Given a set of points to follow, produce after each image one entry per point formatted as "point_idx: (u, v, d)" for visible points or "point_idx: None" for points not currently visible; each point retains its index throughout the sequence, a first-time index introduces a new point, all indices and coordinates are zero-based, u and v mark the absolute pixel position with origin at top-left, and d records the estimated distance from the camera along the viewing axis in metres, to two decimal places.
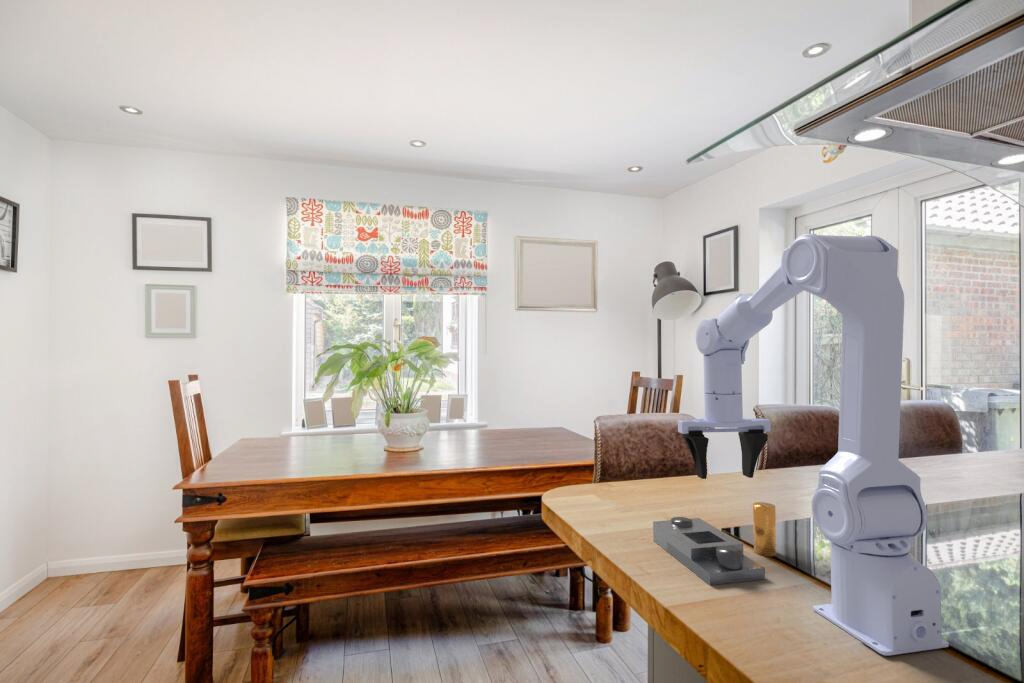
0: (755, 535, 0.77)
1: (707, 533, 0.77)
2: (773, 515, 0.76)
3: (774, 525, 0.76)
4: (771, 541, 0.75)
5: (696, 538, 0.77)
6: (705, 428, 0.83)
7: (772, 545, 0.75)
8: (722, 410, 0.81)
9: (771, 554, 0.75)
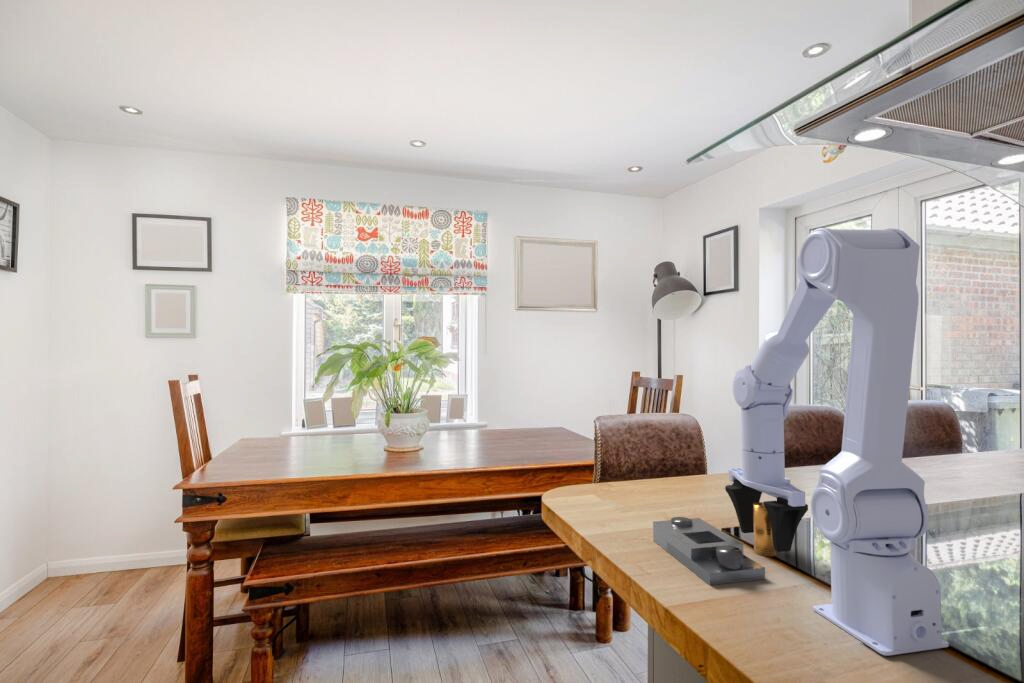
0: (755, 535, 0.77)
1: (707, 533, 0.77)
2: None
3: None
4: (771, 541, 0.75)
5: (696, 538, 0.77)
6: None
7: (772, 545, 0.75)
8: (742, 465, 0.78)
9: (771, 554, 0.75)
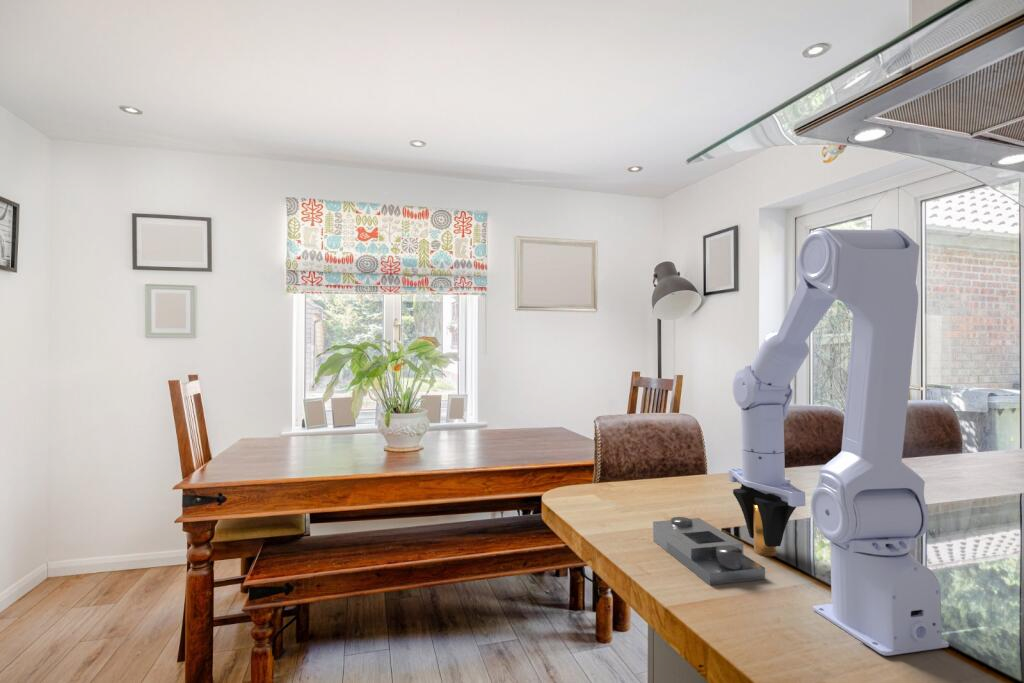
0: (755, 535, 0.77)
1: (707, 533, 0.77)
2: None
3: None
4: None
5: (696, 538, 0.77)
6: None
7: None
8: (742, 465, 0.78)
9: (771, 554, 0.75)
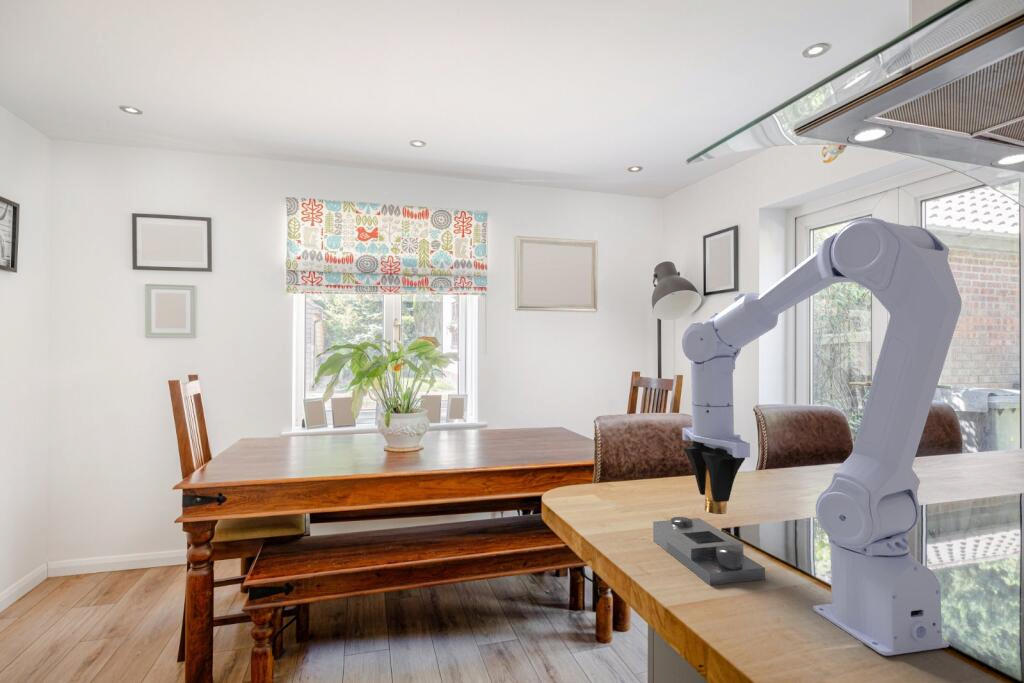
0: (706, 493, 0.75)
1: (707, 533, 0.77)
2: None
3: None
4: None
5: (696, 538, 0.77)
6: None
7: (722, 503, 0.74)
8: (692, 421, 0.76)
9: (721, 512, 0.74)
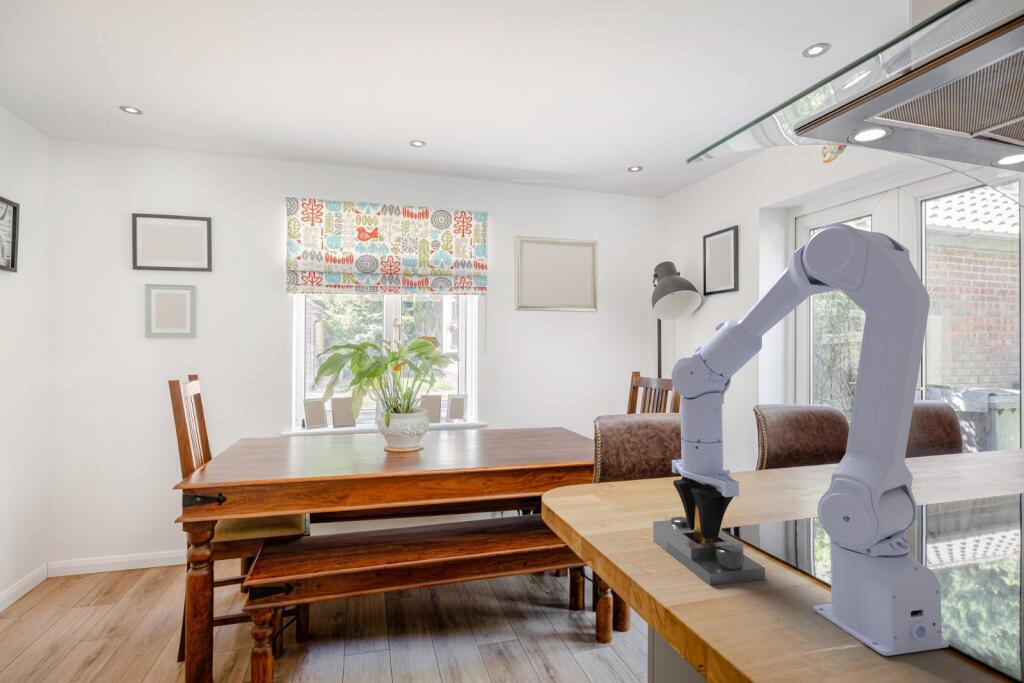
0: (695, 529, 0.75)
1: None
2: None
3: None
4: None
5: None
6: None
7: (711, 539, 0.74)
8: None
9: None
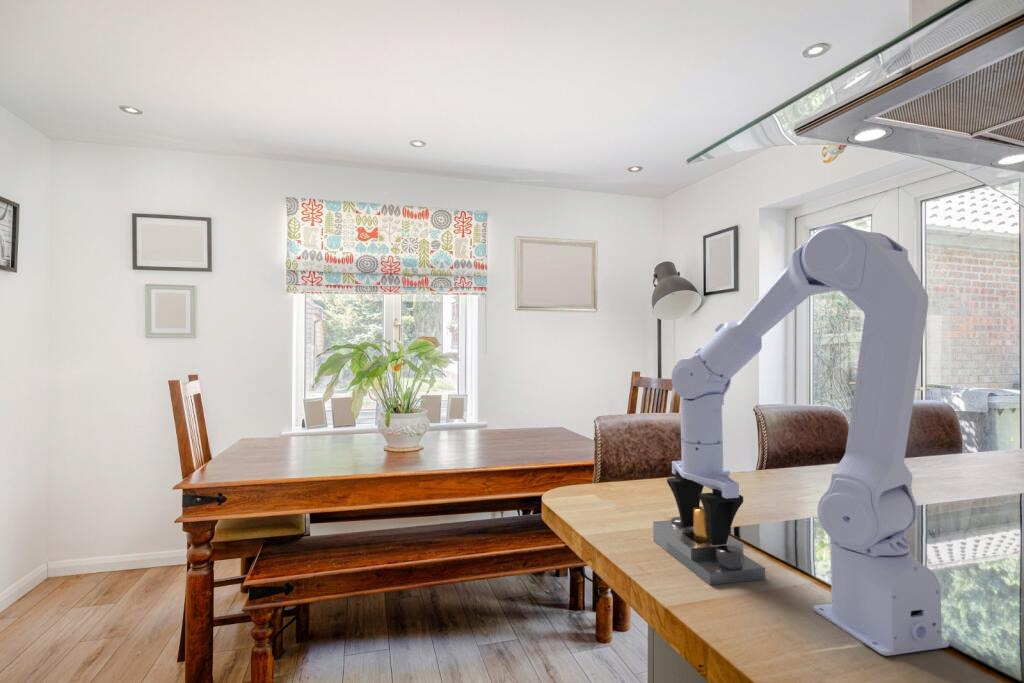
0: (695, 540, 0.75)
1: None
2: None
3: None
4: None
5: None
6: None
7: None
8: None
9: None
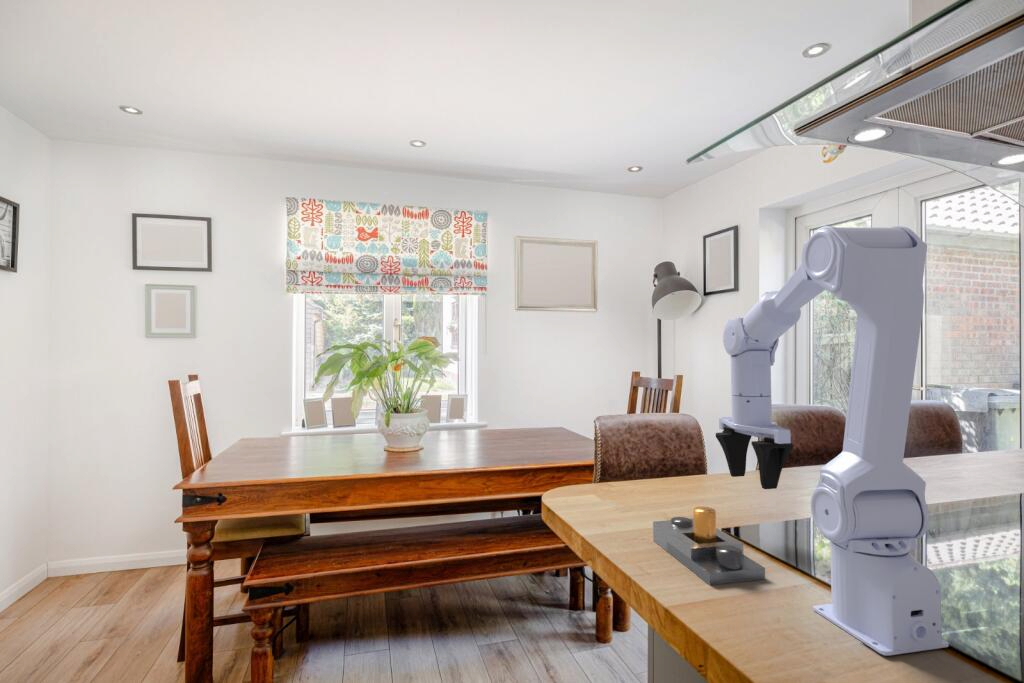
0: (695, 540, 0.75)
1: None
2: (712, 520, 0.74)
3: (713, 530, 0.74)
4: None
5: None
6: None
7: None
8: (732, 410, 0.82)
9: None
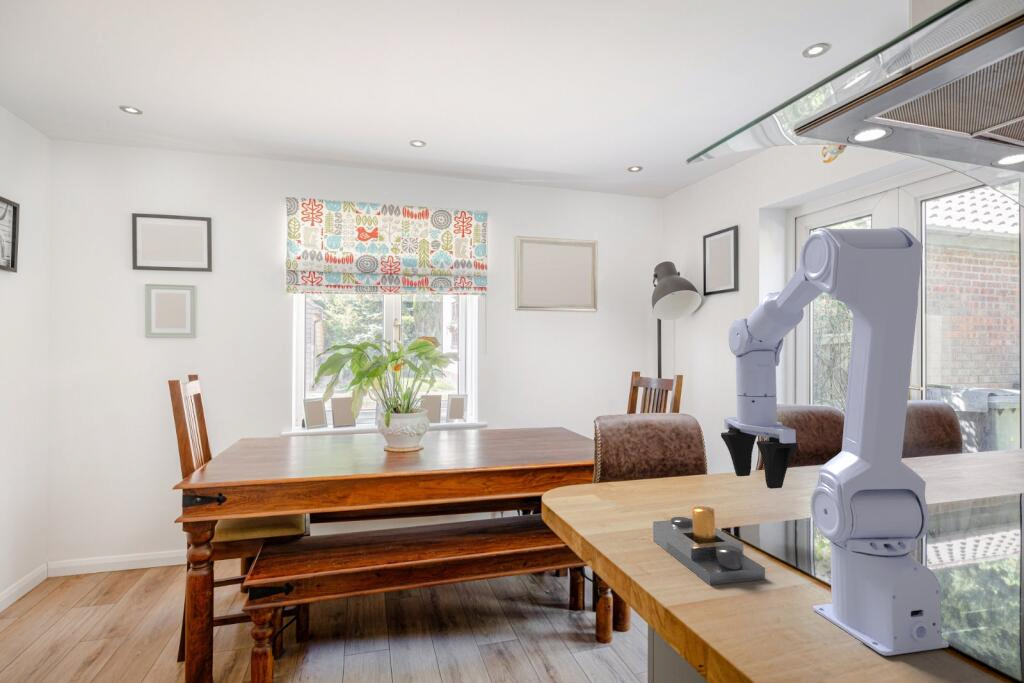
0: (694, 540, 0.75)
1: None
2: (711, 519, 0.74)
3: (712, 530, 0.74)
4: None
5: None
6: None
7: None
8: (737, 410, 0.82)
9: None
